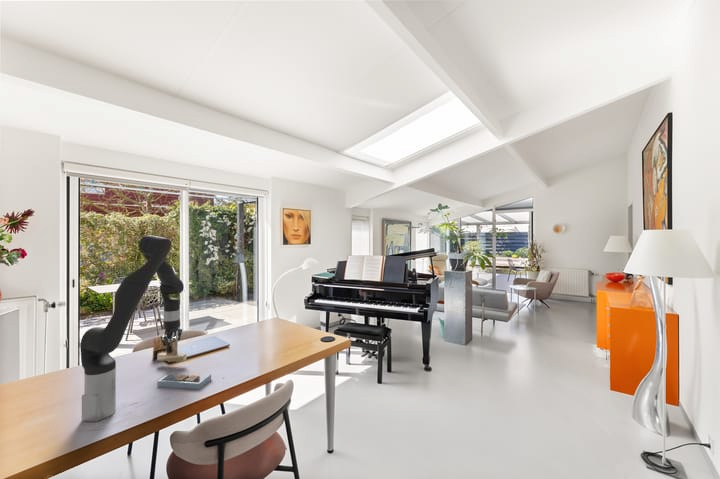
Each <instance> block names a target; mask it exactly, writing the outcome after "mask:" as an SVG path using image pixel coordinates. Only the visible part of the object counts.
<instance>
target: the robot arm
mask: <svg viewBox="0 0 720 479" xmlns="http://www.w3.org/2000/svg"><path fill="white" fill-rule="evenodd" d="M138 249H139V252H140V253H141V255H142V256H143V257H144V258H145V259H146V262H145V263H144V264H143V265H142V266H140V267H138V268H137V269H136V270H134V271H132V272H131V273H129V274H127V276H125V277H124V278H123V280H122V281H121V283H120V285H119V286H118V287H117V289H116V291H115V294H114V300H113V302H114V304H113V305H114V307H113V308H114V309H113V313H112V316H111V317H110V320H109V321H108V323H107V325H106V326H105V327H101V326H96V327H91V328H89V329H88V330H87V331H85V332H84V334H83V335H82V337H81V339H80V362H81V366H82V368H83V372H84V375H83V376H84V383H83V385H84V386H83V387H84V393H83V394H82V395H81V421H83V422H93V423H97V422H99V421H101V420H104V419H107V418H108V417H110V416H112V415H114V414H115V413H116V408H117V403H116V401H117V400H116V398H117V397H116V396H117V388H116V387H117V384H116V382H117V379H116V378H117V377H116V376H117V375H116V374H117V370H116V369H117V368H116V366H117V363H116V362H117V361H116V359H115V358H114V357H112V356H111V355H110V353H112V352H114V351H115V350H116V349H117V348H118V346H119V345H120V343H121V342H122V340H123V337H124V335H125V332H126V330H127V328H128V326H129V323H130V320H131V319H132V317H133V315H134V313H135V311H136V309H137V307H138V305H139V303H140V301H141V300H142V298H143V296H144V295H145V293H146V291H147V290H148V287H149V285H150V284H151V282H152V280H153V278H154V277H155V274H156V276H157V277H158V279H159V282H160V285H159V292H160V294H161V297H162V301H163V316H162V317H163V319H162V322H163V323H162V325H163V330H164V334H163V335H161V336H160V337H159V338H160V342H161V341H162V343H163V346H167V353H171V352H172V346H171V345H172V341H173V340H177V343H178V342H180V340H181V337H182V333H183V329H182V328H180V326H181V312H180V299H179V298H176V297H172V296H171V295H179V294H181V293H183V291H184V286H185V285H184V283H183V281H182V280H181V279H180V278H179V276H177V275H176V273H175V271H174V268H173V267H172V265H171V264H170V263H169V262H168V261H166V260H165V259H166V258H167V257H168V255H169V253H170V251H171V249H172V240H170V239H169V238H166V237H163V236H157V235H151V234H148V235H144V236H142V237H141V238H140V241H139V243H138ZM169 341H170V343H169Z"/></svg>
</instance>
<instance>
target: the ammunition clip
mask: <svg viewBox="0 0 720 479" xmlns="http://www.w3.org/2000/svg"><path fill="white" fill-rule="evenodd" d="M152 348H153V349H152V360H153V361H158V360H157V355H158V354H160V353H166V346H163V343H162V341H161V338H160V337H159V336H158V338H157V339H156V337H154V339H153V346H152Z"/></svg>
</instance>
